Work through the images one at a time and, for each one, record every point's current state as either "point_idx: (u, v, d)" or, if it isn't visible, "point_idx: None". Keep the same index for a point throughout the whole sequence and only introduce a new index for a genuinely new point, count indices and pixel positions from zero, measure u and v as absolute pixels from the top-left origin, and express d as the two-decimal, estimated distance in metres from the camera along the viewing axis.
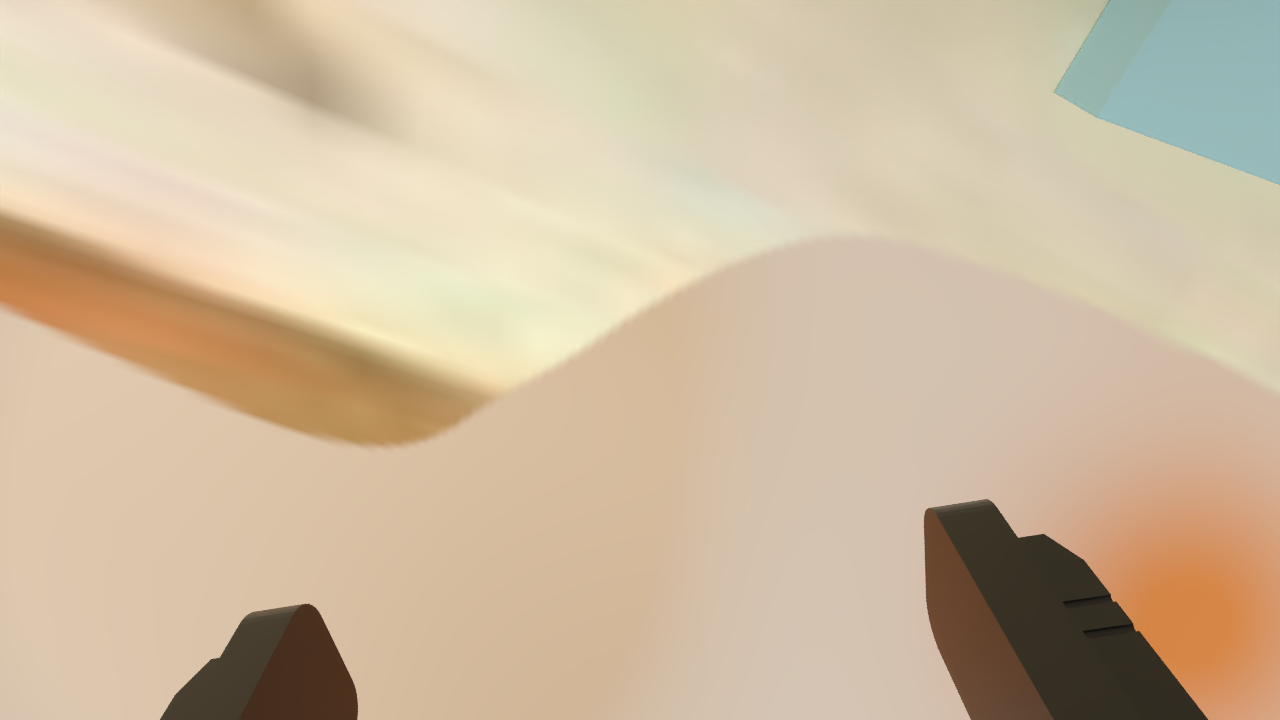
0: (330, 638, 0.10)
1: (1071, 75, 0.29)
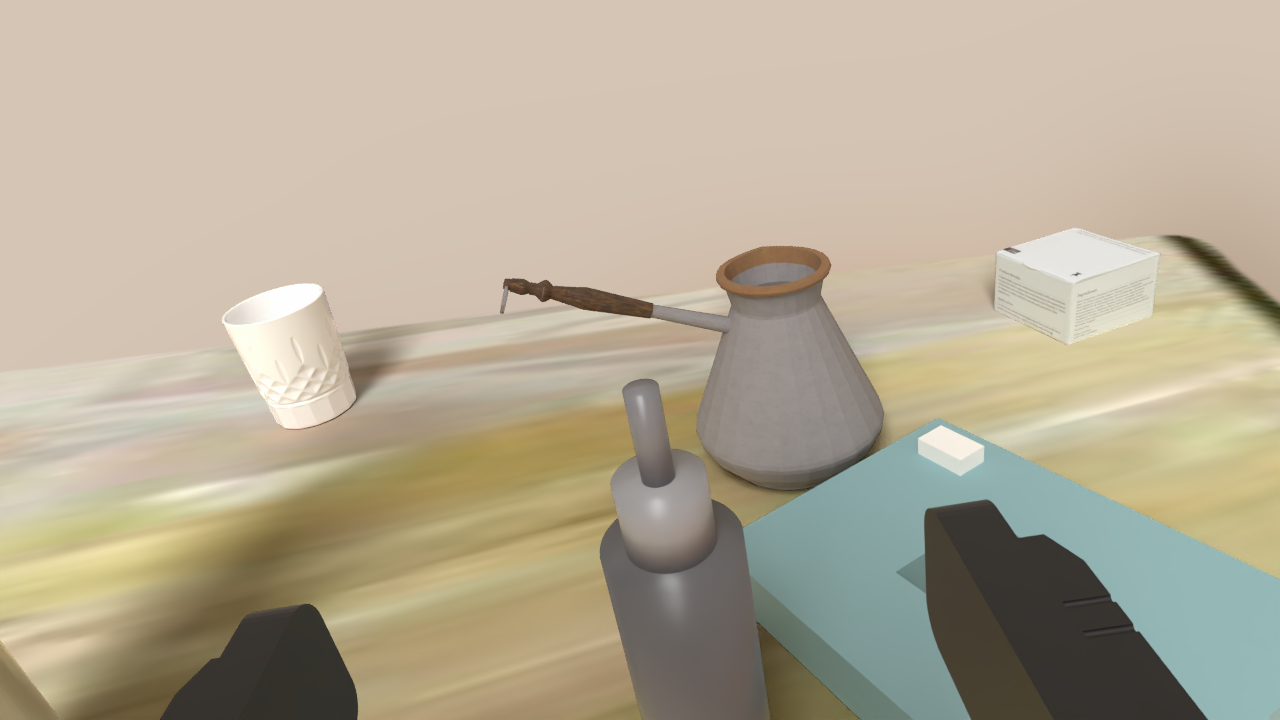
0: (330, 638, 0.10)
1: None
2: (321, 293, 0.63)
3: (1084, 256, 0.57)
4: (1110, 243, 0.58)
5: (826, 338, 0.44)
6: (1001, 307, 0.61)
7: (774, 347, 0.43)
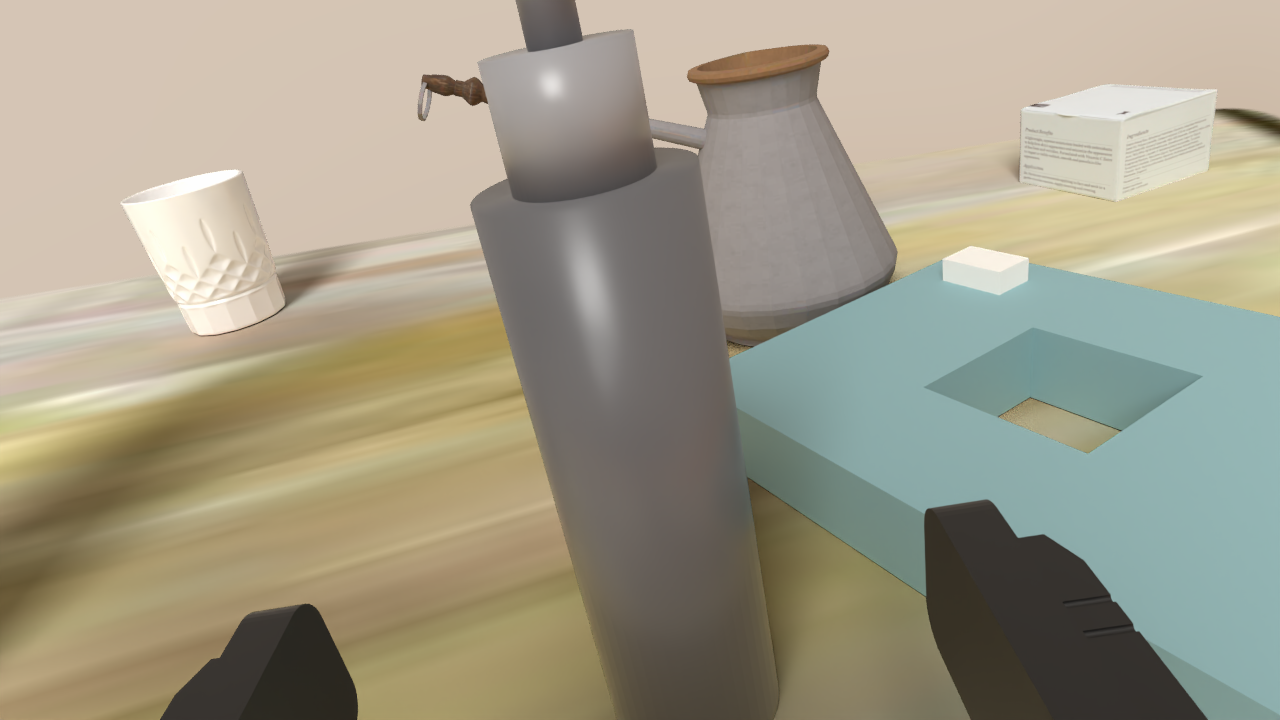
0: (330, 638, 0.10)
1: None
2: (239, 174, 0.55)
3: (1127, 100, 0.48)
4: (1154, 89, 0.49)
5: (825, 143, 0.35)
6: (1028, 176, 0.52)
7: (760, 151, 0.35)
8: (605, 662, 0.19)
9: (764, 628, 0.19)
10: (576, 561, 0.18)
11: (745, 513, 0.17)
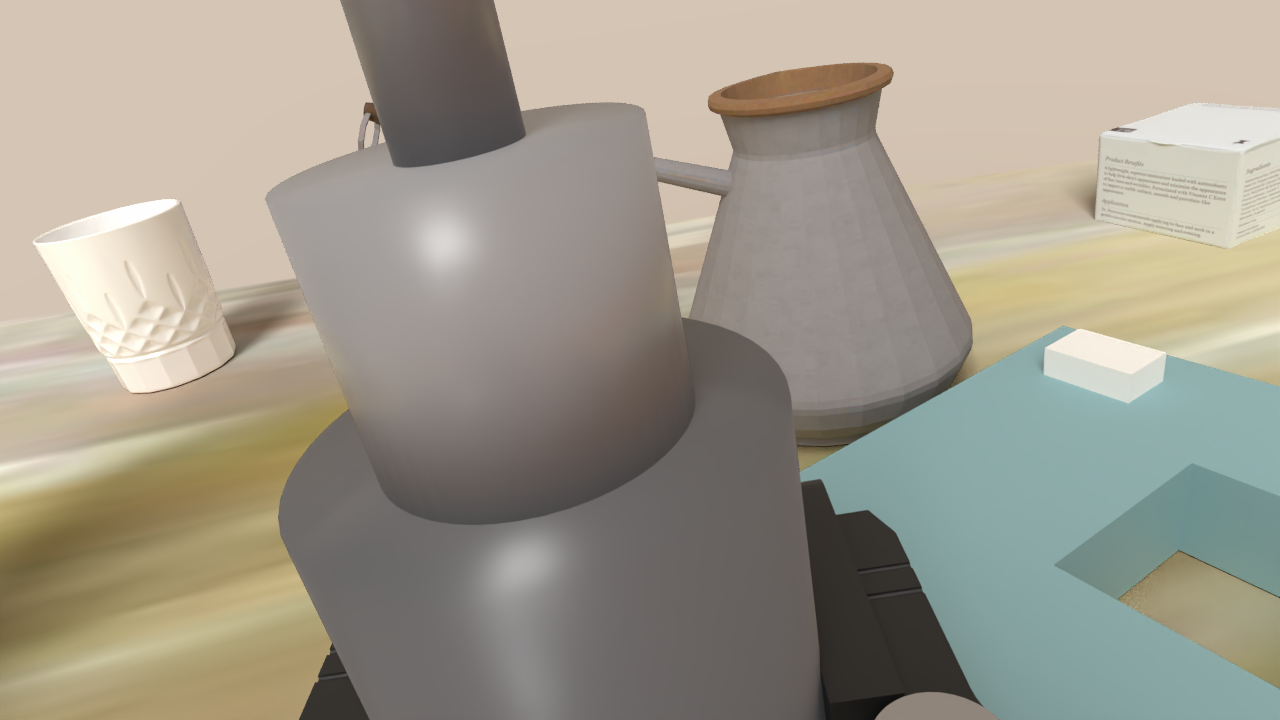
0: None
1: None
2: (174, 206, 0.47)
3: (1236, 124, 0.40)
4: (1262, 110, 0.41)
5: (887, 193, 0.27)
6: (1107, 213, 0.44)
7: (804, 203, 0.27)
8: None
9: None
10: None
11: None
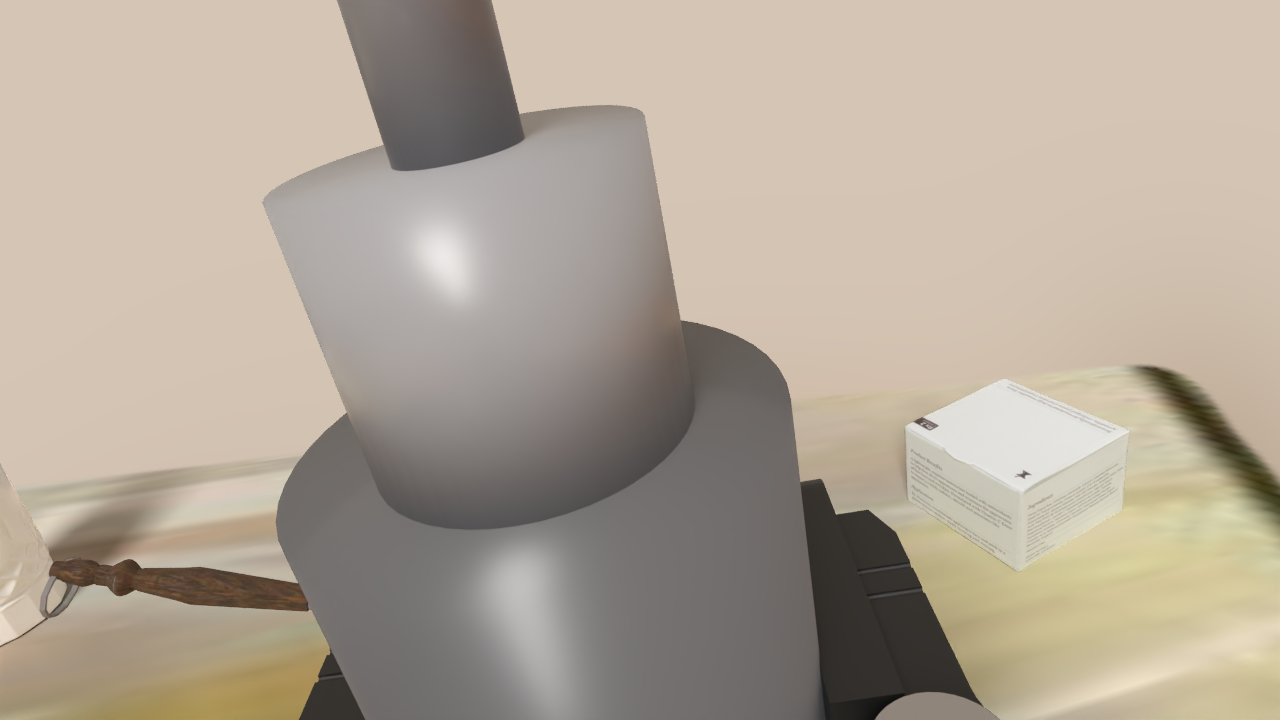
0: None
1: None
2: None
3: (1026, 436, 0.40)
4: (1057, 410, 0.41)
5: None
6: (917, 499, 0.44)
7: None
8: None
9: None
10: None
11: None
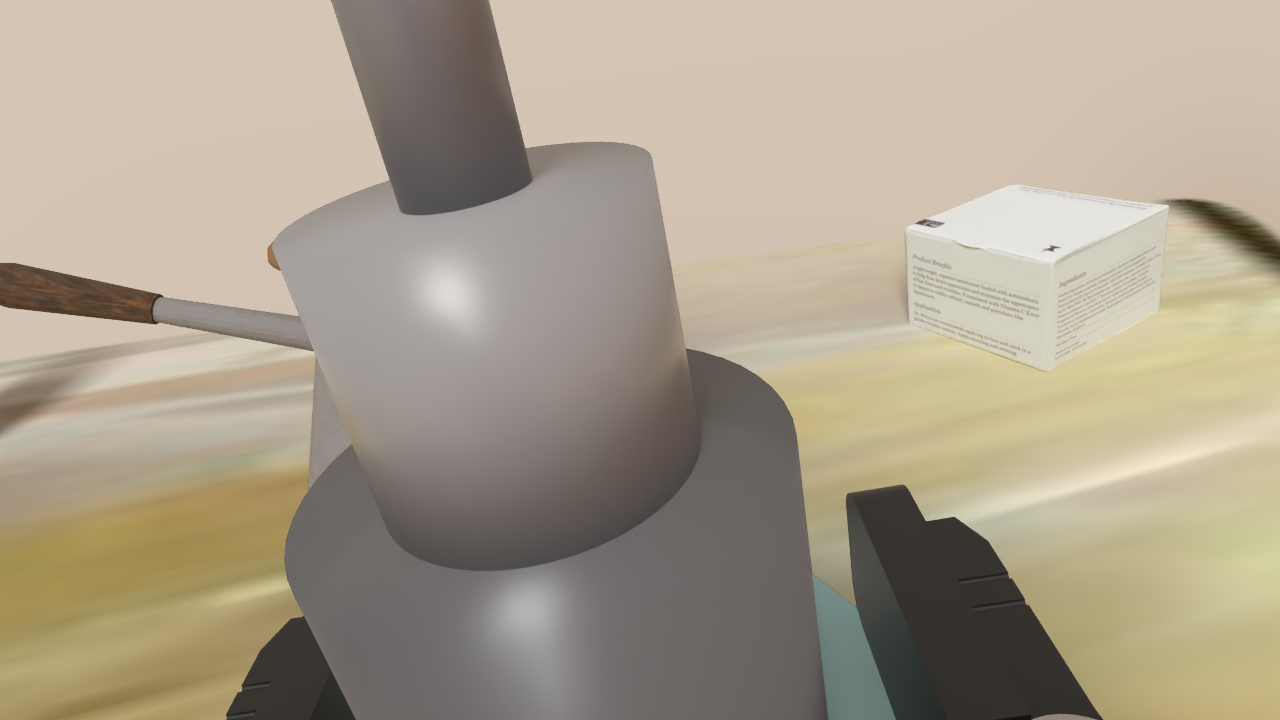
0: None
1: None
2: None
3: (1049, 220, 0.34)
4: (1080, 199, 0.35)
5: None
6: (920, 318, 0.38)
7: None
8: None
9: None
10: None
11: None
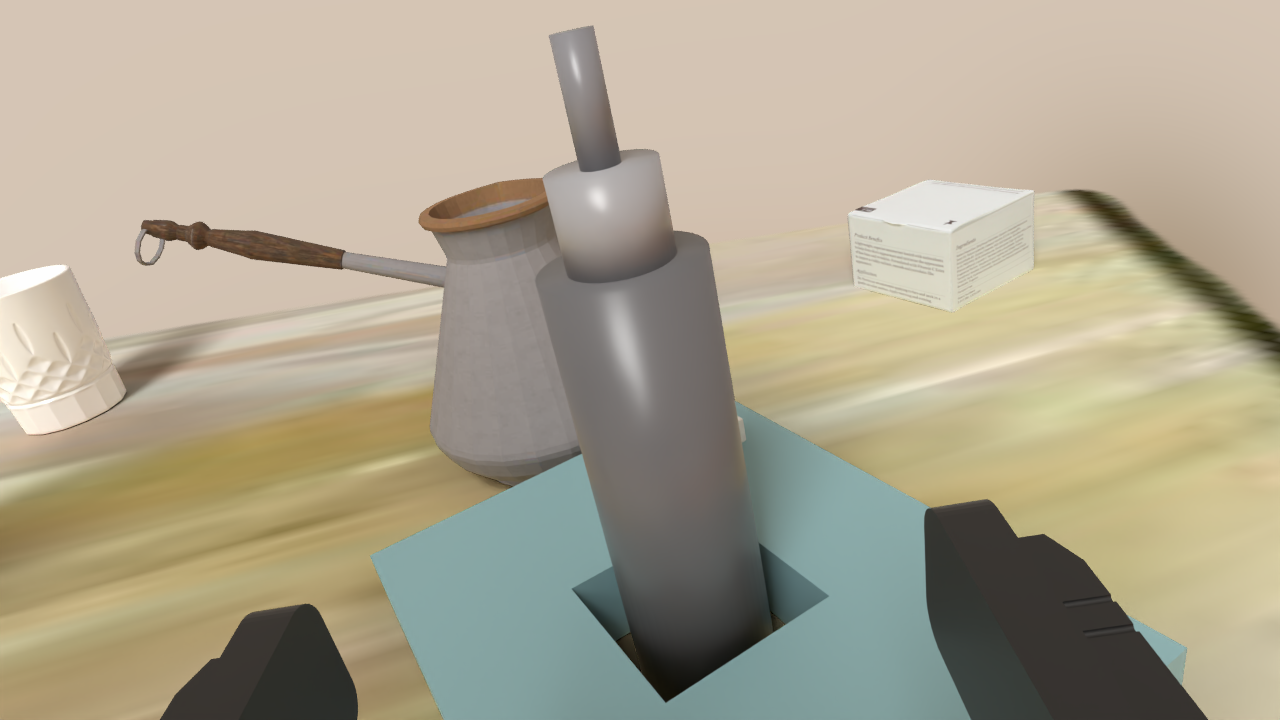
0: (330, 638, 0.10)
1: None
2: (61, 273, 0.54)
3: (950, 203, 0.46)
4: (974, 188, 0.48)
5: None
6: (862, 281, 0.50)
7: (485, 299, 0.34)
8: (636, 636, 0.23)
9: (764, 608, 0.23)
10: (614, 554, 0.22)
11: (748, 515, 0.22)
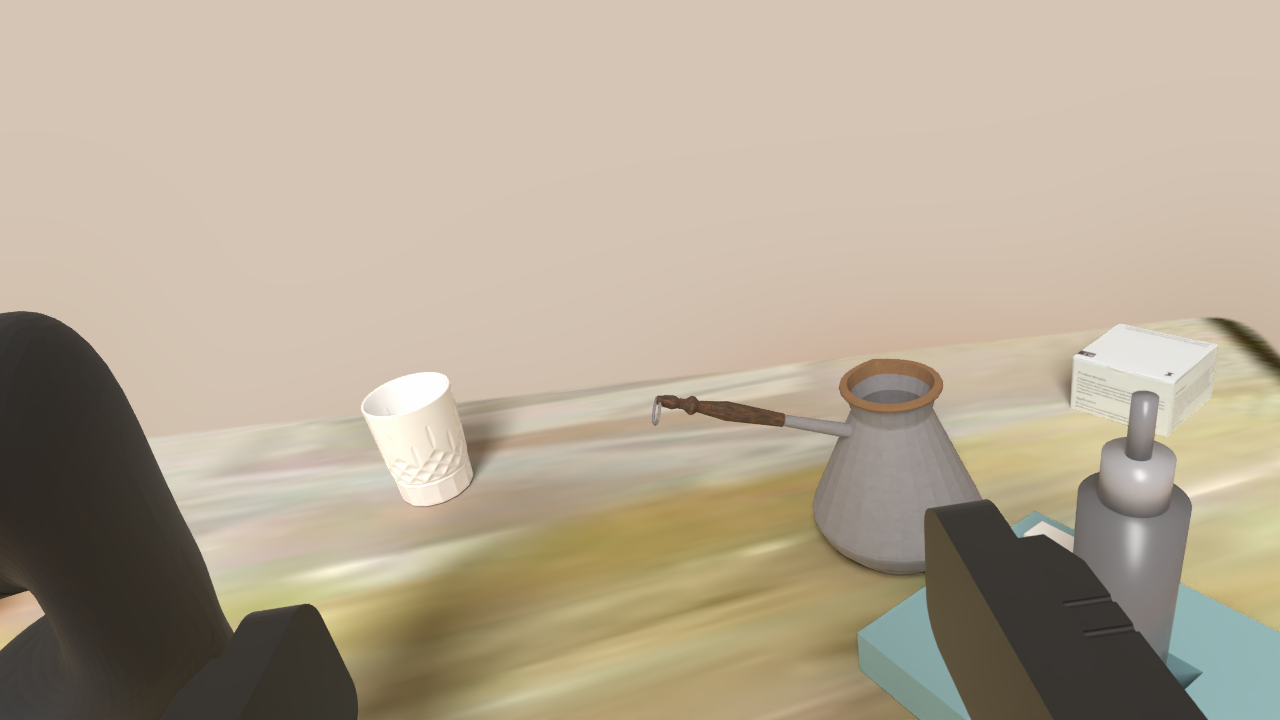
0: (330, 638, 0.10)
1: None
2: (449, 383, 0.70)
3: (1157, 354, 0.62)
4: (1167, 338, 0.64)
5: (939, 444, 0.50)
6: (1080, 405, 0.66)
7: (896, 454, 0.50)
8: None
9: None
10: None
11: None
